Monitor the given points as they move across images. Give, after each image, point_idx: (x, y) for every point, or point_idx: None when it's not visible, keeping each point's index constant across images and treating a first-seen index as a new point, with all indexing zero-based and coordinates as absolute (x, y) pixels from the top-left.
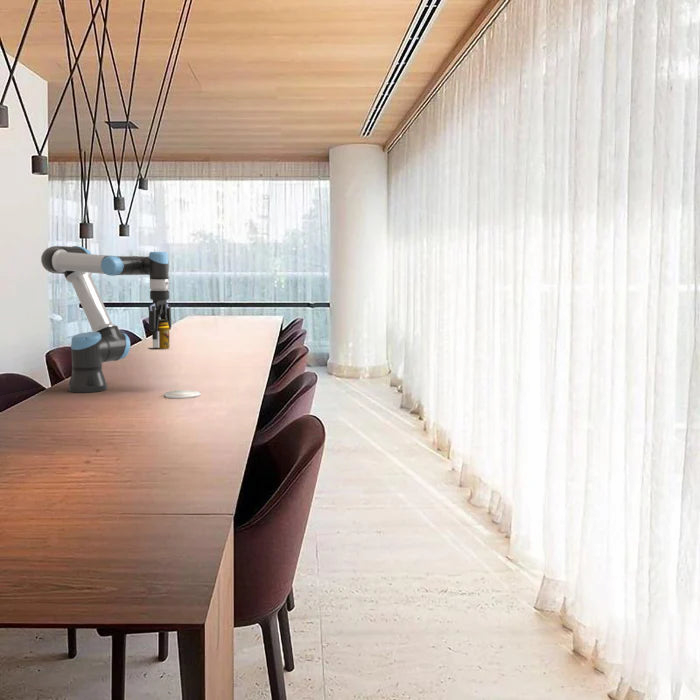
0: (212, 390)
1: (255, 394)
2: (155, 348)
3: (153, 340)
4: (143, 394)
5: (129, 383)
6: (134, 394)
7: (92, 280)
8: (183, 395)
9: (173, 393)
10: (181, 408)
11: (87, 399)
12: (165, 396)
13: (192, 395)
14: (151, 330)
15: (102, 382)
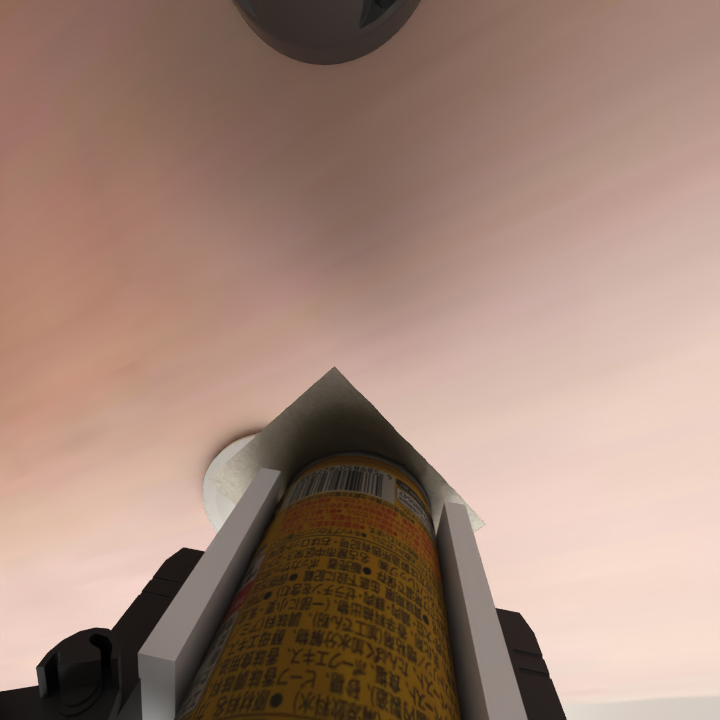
0: None
1: None
2: (299, 476)
3: (226, 532)
4: (264, 334)
5: (607, 80)
6: (254, 293)
7: None
8: (223, 522)
9: None
10: (60, 559)
11: (74, 127)
12: (222, 450)
13: None
14: (13, 698)
15: (303, 27)
